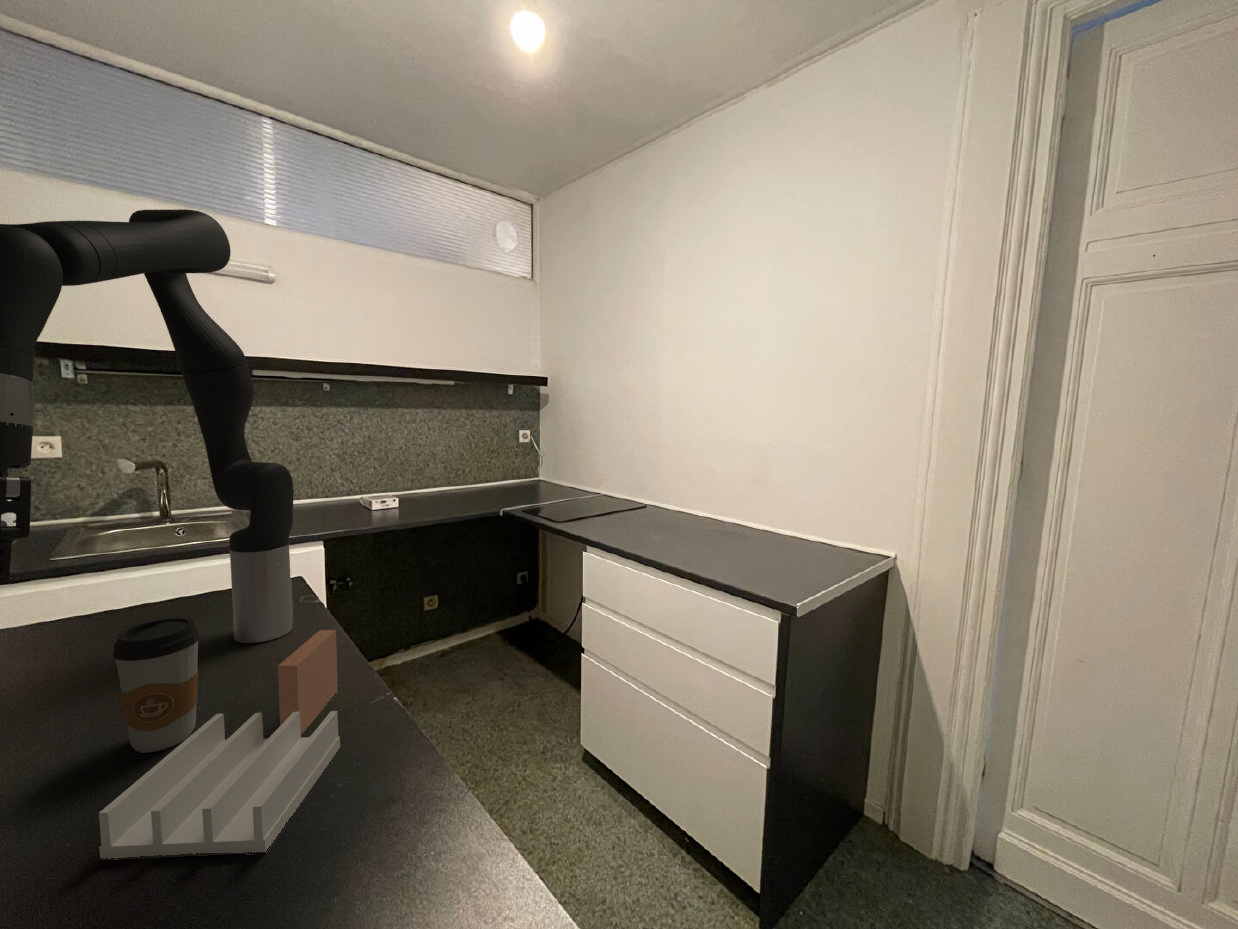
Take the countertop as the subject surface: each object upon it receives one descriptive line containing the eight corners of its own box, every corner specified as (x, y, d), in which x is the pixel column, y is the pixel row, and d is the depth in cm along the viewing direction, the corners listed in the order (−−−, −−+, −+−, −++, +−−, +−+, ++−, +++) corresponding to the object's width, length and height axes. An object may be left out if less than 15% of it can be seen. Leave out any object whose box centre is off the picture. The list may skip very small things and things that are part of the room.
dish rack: (217, 751, 64) (215, 713, 64) (340, 747, 66) (339, 711, 65) (100, 861, 49) (96, 813, 48) (265, 853, 50) (263, 806, 49)
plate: (321, 692, 78) (319, 630, 77) (337, 692, 79) (336, 630, 78) (280, 737, 67) (277, 666, 66) (299, 737, 68) (296, 665, 67)
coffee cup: (108, 767, 61) (98, 648, 60) (134, 728, 68) (126, 621, 67) (195, 748, 65) (189, 635, 63) (212, 713, 72) (206, 611, 71)
